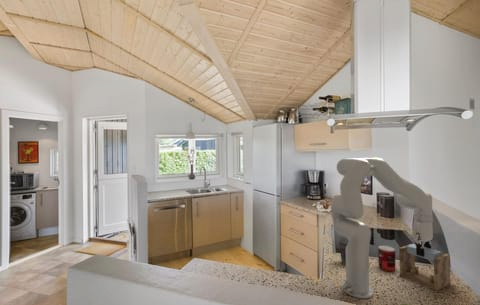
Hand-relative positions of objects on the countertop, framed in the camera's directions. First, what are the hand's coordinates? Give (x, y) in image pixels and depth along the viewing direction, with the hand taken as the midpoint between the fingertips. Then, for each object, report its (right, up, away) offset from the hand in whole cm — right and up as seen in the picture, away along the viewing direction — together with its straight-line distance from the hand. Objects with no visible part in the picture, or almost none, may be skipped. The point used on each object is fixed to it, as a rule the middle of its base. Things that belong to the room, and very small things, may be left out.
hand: (423, 253), depth 121 cm
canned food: (-11, -13, +12) cm, 21 cm away
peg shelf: (0, -13, 0) cm, 13 cm away
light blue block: (0, -1, 0) cm, 1 cm away
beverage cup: (-31, -13, +19) cm, 38 cm away
